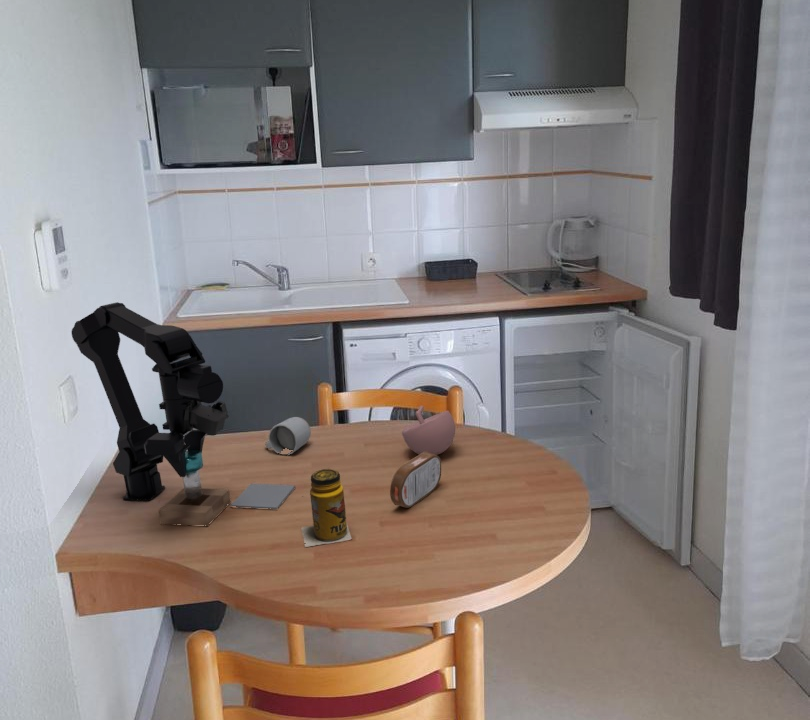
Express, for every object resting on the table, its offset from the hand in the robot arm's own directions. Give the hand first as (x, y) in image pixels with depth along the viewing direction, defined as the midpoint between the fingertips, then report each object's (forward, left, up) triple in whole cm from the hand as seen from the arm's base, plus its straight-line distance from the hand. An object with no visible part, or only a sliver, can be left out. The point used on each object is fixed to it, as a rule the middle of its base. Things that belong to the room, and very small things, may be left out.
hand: (190, 470), depth 146 cm
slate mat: (+11, +8, -9) cm, 16 cm away
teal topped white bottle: (0, 0, -5) cm, 5 cm away
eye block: (0, 0, -9) cm, 9 cm away
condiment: (+29, -5, -10) cm, 31 cm away
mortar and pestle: (+41, +33, -10) cm, 53 cm away
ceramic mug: (+6, +33, -10) cm, 35 cm away
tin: (+43, +11, -10) cm, 45 cm away
